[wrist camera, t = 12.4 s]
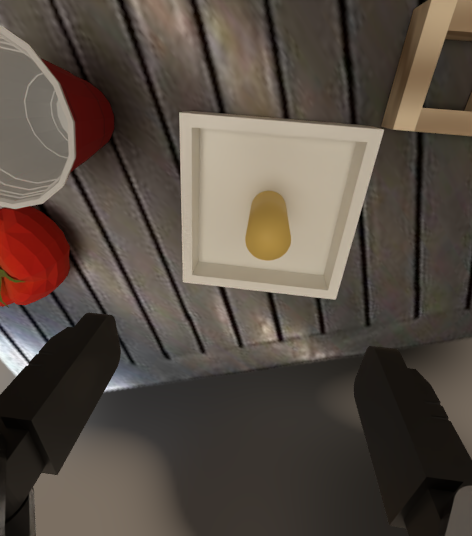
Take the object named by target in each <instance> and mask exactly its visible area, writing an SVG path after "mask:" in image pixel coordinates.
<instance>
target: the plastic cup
mask: <svg viewBox="0 0 472 536" xmlns="http://www.w3.org/2000/svg"><path fill="white" fill-rule="evenodd" d="M113 131H114V114H113V111H112V108H111V106H110V103H109V102H108V100H107V99H106V98H105V96H104V95H103V93H102V92H101V91H100V90H99V89H97V88H96V87H94V86H93V85H92V84H90V83H89V82H87V81H86V80H83V79H81V78H79V77H76V76H74V75H73V74H71V73H70V72H68V71H66V70H64V69H62V68H60V67H58V66H56V65H54V64H52V63H50V62H47V61H45V60H43V59H41V58H40V57H39V56H38V55H37V53H36V52H35V51H34V49H33V48H32V47H31V46H30V45H28V44H27V43H26V42H24V41H23V40H21V39H20V38H18V37H17V36H15V35H14V34H13V33H11V32H10V31H8V30H7V29H5V28H4V27H2V26H1V25H0V206H2V207H7V208H12V209H18V208H23V207H28V206H33V205H38V204H43V203H44V202H45V201H46V200H48V199H49V198H50V197H51V196H52V195H54V194H55V193H56V192H57V191H58V190H60V189H61V188H62V187H63V186H64V185H65V184H66V181H67V179H68V176H69V174H70V172H72V171H73V170H74V169H75V168H77V167H78V166H79V165H81V164H82V163H83V162H85V161H86V160H88V159H89V158H90V157H91V156H92V155H94V154H95V153H96V152H97V151H98V150H99V149H101V148H102V147H103V146H104V145H105V144H106V143H108V142H109V140H110V138H111V136H112V133H113Z"/></svg>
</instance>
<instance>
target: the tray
mask: <svg viewBox="0 0 472 536" xmlns="http://www.w3.org/2000/svg"><path fill="white" fill-rule="evenodd" d="M179 122H180V168H181V215H182V261H183V282H186V283H195V284H204V285H212V286H221V287H230V288H239V289H247V290H256V291H265V292H273V293H282V294H291V295H300V296H308V297H317V298H326V299H335V300H336V297H337V293H338V290H339V286H340V283H341V279H342V276H343V272H344V269H345V265H346V262H347V258H348V255H349V251H350V248H351V244H352V241H353V237H354V234H355V230H356V227H357V223H358V220H359V216H360V213H361V209H362V206H363V202H364V199H365V195H366V192H367V188H368V185H369V181H370V178H371V174H372V171H373V167H374V164H375V160H376V157H377V153H378V150H379V146H380V143H381V139H382V136H383V132H384V129H380V128H376V127H373V126H368V125H355V124H343V123H331V122H319V121H307V120H295V119H283V118H271V117H259V116H247V115H235V114H223V113H211V112H198V111H187V112H180V113H179ZM264 191H274V192H277V193H278V194H280V195H281V196H282V197H283V198H284V200H285V203H286V208H287V215H288V221H289V228H290V234H291V244H290V247H289V249H288V251H287V252H286V253H285V254H284V255H283V256H282V257H280V258H278V259H275V260H270V261H266V260H261V259H258V258H256V257H254V256H253V255H252V254H251V253H250V252H249V250H248V249H247V247H246V243H245V237H246V231H247V226H248V220H249V215H250V209H251V204H252V201H253V199H254V198H255V197H256V196H257V195H258V194H259V193H261V192H264Z"/></svg>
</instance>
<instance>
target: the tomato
mask: <svg viewBox="0 0 472 536" xmlns="http://www.w3.org/2000/svg"><path fill="white" fill-rule="evenodd" d="M69 251H70V246H69V244H68V242H67V240H66V238H65V235H64V233H63V231H62V230H61V229H60V228H59V227H58V226H57V225H56V223H55V222H54V221H52V220H51V219H50V218H49V217H48V216H46V215H45V214H44V213H43V212H41V211H39V210H37V209H35V208H33V207H29V206H28V207H23V208H18V209H12V208H7V207H6V208H2V209H0V306H7V305H8V304H11V303H14V302H15V303H16V304H19V305H27V304H30V303H32V302H35V301H37V300H39V299H41V298H43V297H45V296H47V295H48V294H50V293H51V292H52V291H54V290H55V289H56V288H57V287H58V286H59V285H60V284H61V283H62V282H63V281H64V279H65V278H66V276H67V275H68V272H69V269H70V264H69ZM7 307H8V306H7ZM8 308H9V307H8Z"/></svg>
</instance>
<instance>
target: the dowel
mask: <svg viewBox="0 0 472 536" xmlns="http://www.w3.org/2000/svg"><path fill="white" fill-rule="evenodd" d="M245 243H246V247H247V249H248V250H249V252H250V253H251V254H252V255H253V256H254V257H256V258H258V259H261V260H266V261H270V260H275V259H278V258H280V257H282V256H283V255H284V254H285V253H286V252H287V251H288V249H289V247H290V244H291V234H290V228H289V221H288V215H287V208H286V203H285V200H284V198H283V197H282V196H281V195H280V194H278V193H277V192H274V191H264V192H261V193H259V194H258V195H257V196H256V197H255V198H254V199H253V201H252V204H251V209H250V215H249V220H248V226H247V231H246V237H245Z"/></svg>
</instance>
